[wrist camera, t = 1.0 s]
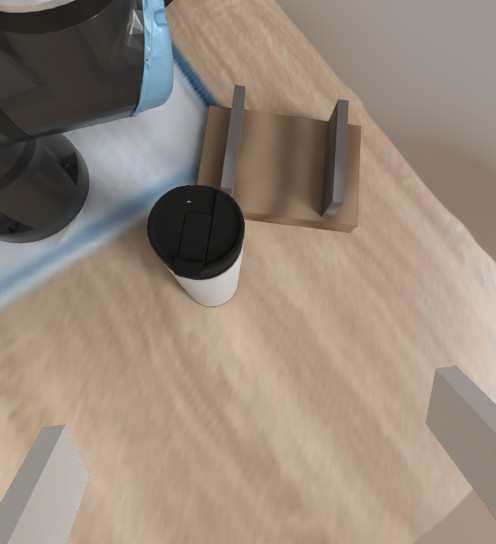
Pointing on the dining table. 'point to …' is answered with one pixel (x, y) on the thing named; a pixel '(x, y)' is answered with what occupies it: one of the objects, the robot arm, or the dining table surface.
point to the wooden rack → (284, 165)
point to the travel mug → (199, 241)
